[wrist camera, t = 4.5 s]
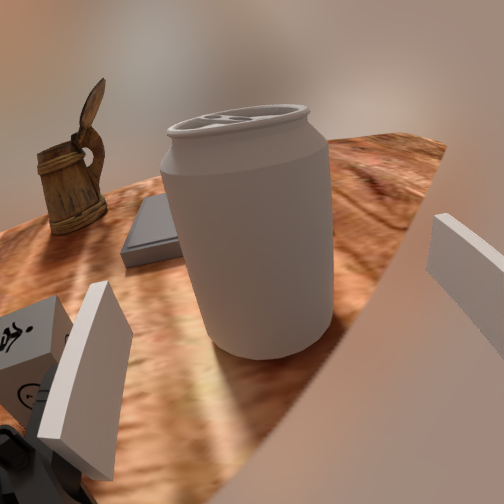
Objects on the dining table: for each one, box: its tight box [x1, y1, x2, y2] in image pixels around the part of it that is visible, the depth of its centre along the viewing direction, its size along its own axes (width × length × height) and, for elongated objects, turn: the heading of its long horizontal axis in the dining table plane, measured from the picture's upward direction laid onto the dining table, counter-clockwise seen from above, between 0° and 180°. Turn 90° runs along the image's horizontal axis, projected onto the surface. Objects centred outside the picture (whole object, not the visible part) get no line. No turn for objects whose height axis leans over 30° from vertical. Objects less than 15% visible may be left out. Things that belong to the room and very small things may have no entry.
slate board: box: [120, 193, 183, 268], centre depth 33 cm, size 18×14×2 cm
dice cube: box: [0, 295, 73, 430], centre depth 14 cm, size 5×5×5 cm
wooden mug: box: [37, 78, 107, 235], centre depth 37 cm, size 9×14×18 cm, turn 101°
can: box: [160, 104, 334, 360], centre depth 16 cm, size 8×8×12 cm
